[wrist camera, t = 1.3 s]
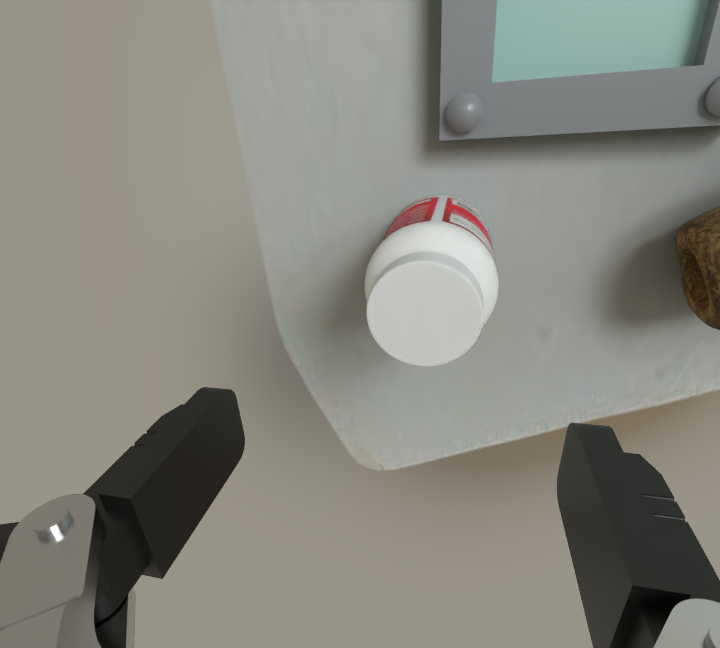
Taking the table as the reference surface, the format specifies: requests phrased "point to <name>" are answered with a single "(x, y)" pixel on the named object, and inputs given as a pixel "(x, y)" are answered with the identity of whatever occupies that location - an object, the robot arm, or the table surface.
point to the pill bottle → (431, 282)
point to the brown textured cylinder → (701, 265)
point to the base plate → (577, 66)
